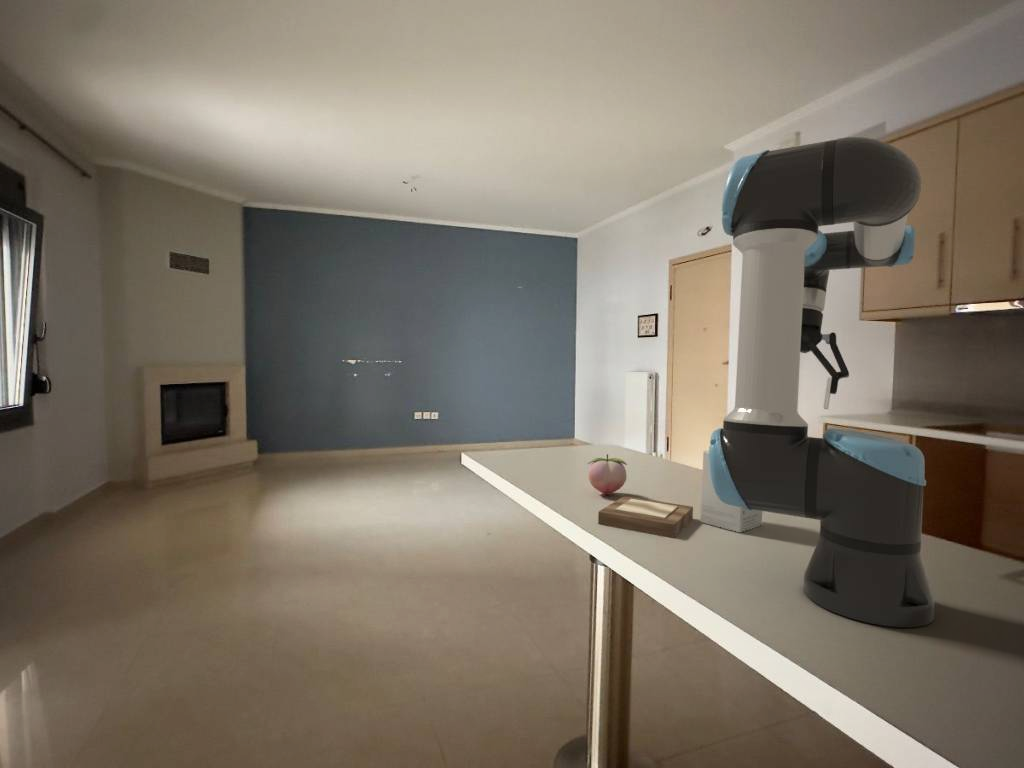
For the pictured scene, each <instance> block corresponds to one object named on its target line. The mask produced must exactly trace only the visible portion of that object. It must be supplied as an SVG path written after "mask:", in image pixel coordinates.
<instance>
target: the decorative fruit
mask: <svg viewBox="0 0 1024 768" xmlns="http://www.w3.org/2000/svg"><path fill="white" fill-rule="evenodd" d="M587 465H590V466H589V469H588V480H589V483H590V485H591V486H592V487H593V488H594V489H595V490H596V491H598V492H600V493H602V494H603V495H605V496H607V495H611V494H613V493H615V492H617V491H618V490H620V489H621V488H623V486H624V485H625V483H626V481H627V478H628V477H627V471H626V467H625V466H624V465H626V466H628V463H626V462H625V461H624V460H623V459H621V458H616V457H613V458H609V454H606V458H603V457H597V458H596V457H595V458H593V459H590V461H589V462H588V463H587Z"/></svg>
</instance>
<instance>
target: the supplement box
mask: <svg viewBox="0 0 1024 768" xmlns="http://www.w3.org/2000/svg"><path fill="white" fill-rule="evenodd" d="M701 472H702V474H701V490H700V491H701V492H700V514H699V515H700V517H699V522H700V523H702V524H707V525H709V526H714V527H717V528H720V527H721V529H724V530H728V531H731V530H732V532H735V531H736V532H735V533H738V532H740V533H739V534H742V533H743V531H744V532H747V531H750V530H753V529H756V528H758V527H761V526H762V524H763V511H760V510H747V509H746V508H742V507H737V506H732V505H728V504H726V503H724V502H722V501H721V500H720V499H719V498H718V496H717V494H716V492H715V490H714V487H713V484H712V480H711V474H710V465H709V449H706V450H703V451H702V471H701ZM760 525H761V526H760ZM757 526H758V527H757ZM755 527H756V528H755ZM752 528H753V529H752ZM749 529H750V530H749ZM746 530H747V531H746ZM741 532H742V533H741Z"/></svg>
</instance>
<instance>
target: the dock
mask: <svg viewBox="0 0 1024 768" xmlns="http://www.w3.org/2000/svg"><path fill="white" fill-rule="evenodd" d="M693 514H694V506H692V505H691V506H690V505H684V504H676V503H673V502H671V503H670V502H666V501H665V502H664V501H660V500H659V501H657V500H652V499H645V498H639V497H632V496H625V495H624V496H622V497H620V498H619V499H617V500H615V501H614V502H612V503H610V504H609V505H607V506H605V507H603V508H602V509H600V510H598V521H597V523H598V525H603V526H608V527H614V528H619V529H625V530H630V531H636V532H640V533H645V532H646V533H645V534H650V533H651V535H656V534H657V535H658V536H661V535H663V537H667V536H668V537H669V538H672V537H673V538H672V539H674V538H675V537H677V535H678V534H679V533H680V532H681V531H682V530H683V529H684V528H685V527H686V526H687V525H688V524H689V523H690V522H691V521H692V520H693V519H692V518H693V517H694V515H693ZM691 519H692V520H691ZM690 520H691V521H690ZM689 521H690V522H689ZM688 522H689V523H688ZM687 523H688V524H687ZM686 524H687V525H686ZM685 525H686V526H685ZM684 526H685V527H684ZM657 535H656V536H657Z"/></svg>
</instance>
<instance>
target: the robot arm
mask: <svg viewBox="0 0 1024 768" xmlns="http://www.w3.org/2000/svg"><path fill="white" fill-rule="evenodd" d="M734 162H735V163H733V164H732V166H731V167H730V170H729V172H728V175H727V177H726V180H725V184H724V189H723V194H722V202H721V212H722V215H721V223H722V229H723V232H724V234H726V235H728V236H731V237H732V245H733V246H734V247H735V248H736V249H737V250H738V251H740V253H741V254H742V262H741V263H742V264H741V278H740V279H741V280H740V281H741V283H740V284H741V285H740V299H739V301H740V302H739V316H738V317H739V318H738V319H739V321H738V335H737V337H738V340H737V341H738V342H737V358H736V375H735V376H736V380H735V394H734V395H735V396H734V397H735V398H734V399H735V400H734V408H733V410H732V411H730V412H729V413H728V414H727V415H725V417H723V425H722V428H717V429H715V430H714V431H712V433H711V436H710V442H709V443H710V445H709V448H708V450H709V465H710V474H711V480H712V484H713V487H714V490H715V492H716V494H717V496H718V498H719V499H720V500H721V501H722V502H724V503H726V504H728V505H732V506H737V507H742V508H746V509H747V510H760V511H762V512H768V513H773V514H780V515H787V516H791V517H792V516H793V517H798V518H805V519H813V520H819V521H820V523H819V524H820V527H819V539H818V542H817V543H816V546H815V548H814V550H813V553H812V556H811V558H810V559H809V562H808V564H807V567H806V569H805V571H804V574H803V592H804V595H805V596H807V598H808V599H809V600H810V601H812V602H814V603H815V604H816V605H818V606H820V607H822V608H824V609H826V610H827V611H830V612H833V613H835V614H837V615H839V616H843V617H846V618H849V619H852V620H856V621H859V622H863V623H867V624H868V623H869V624H872V625H873V624H874V625H878V626H884V627H891V628H892V627H893V628H918V627H924V626H926V625H929V624H931V623H932V622H933V621H934V618H935V605H936V604H935V598H934V595H933V592H932V589H931V585H930V583H929V579H928V576H927V573H926V570H925V567H924V564H923V561H922V556H921V549H922V531H923V530H922V529H923V528H922V527H923V510H924V509H923V506H924V503H923V502H924V486H927V480H926V479H925V473H926V470H925V467H926V466H925V465H926V463H925V456H924V454H923V452H922V450H920V448H918V447H917V446H916V445H914V444H911V443H909V442H906V441H904V440H900V439H896V438H892V437H889V436H884V435H879V434H875V433H868V432H863V431H858V430H854V429H853V430H851V429H842V428H827V429H825V431H824V433H823V435H822V437H811V436H808V435H809V434H808V431H809V424H808V422H806V421H805V419H804V418H803V417H802V416H801V415H800V414H799V412H798V403H799V401H798V400H799V399H798V398H799V381H800V380H799V379H800V363H801V362H800V361H801V354H807V353H810V352H811V353H812V354H813V355H814V356H815V357H816V360H818V362H819V363H820V364H821V366H822V367H823V368H824V369H825V371H826V372H827V373H828V374H829V375H830V377H827V380H826V388H825V393H824V394H825V395H824V401H823V409H824V410H829V408H830V407H829V405H830V401H831V400H830V399H831V395H836V394H837V393H838V392H837V391H838V386H839V380H841V379H844V378H845V379H847V378H849V377H850V372H849V369H848V367H847V365H846V363H845V362H846V361H844V358H843V356H842V354H841V351H840V349H839V347H838V344H837V334H836V332H833V331H832V332H830V333H825V334H822V326H823V318H824V313H823V312H824V310H825V304H826V297H827V288H828V282H829V281H828V280H829V275H830V271H833V270H848V269H849V270H850V269H863V268H883V267H888V268H893V267H895V266H904V265H905V266H906V265H910V264H911V263H912V262H913V260H914V255H915V245H916V243H915V242H916V229H915V227H914V226H912V225H907V221H908V215H909V213H911V211H912V210H913V208H915V206H916V204H917V203H918V201H919V198H920V194H921V190H922V177H921V173H920V170H919V168H918V166H917V164H916V163H915V162H914V161H913V159H912V158H911V157H909V156H908V154H906V153H905V152H904V151H903V150H901V149H899V148H897V147H896V146H895V145H894V146H893V145H892V144H890V143H887V142H885V141H882V140H880V139H879V140H878V139H875V138H871V137H863V136H847V137H841V138H836V139H832V140H826V141H820V142H815V143H809V144H802V145H797V146H792V147H791V146H790V147H785V148H780V149H773V150H770V149H767V150H763V151H761V152H758V153H755V154H750V155H745V156H742V157H741V158H738V159H737V160H736V161H734ZM849 223H853V225H852V226H853V230H848V231H846V230H844V231H834V232H833V231H832V232H822V231H821V230H820V229H819V228H820V227H822V226H823V227H824V226H833V225H840V224H849ZM822 341H825V344H826V345H829V347H830V349H831V352H832V354H833V357H834V359H835V361H836V363H837V366H838V368H839V371H837V370H836V369H835V367H834V366H833V365H832V364H831V363H830V361H829V360H828V359H827V358H826V356H825V355H824V354H823V352H822V351H821V349H819V348H818V346H817V345H819V343H821V342H822Z"/></svg>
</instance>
